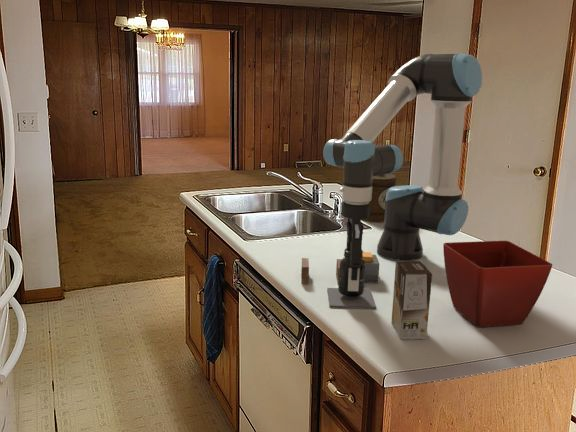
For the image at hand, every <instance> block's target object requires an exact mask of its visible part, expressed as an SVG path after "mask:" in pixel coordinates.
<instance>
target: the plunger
mask: <svg viewBox="0 0 576 432" xmlns="http://www.w3.org/2000/svg"><path fill="white" fill-rule="evenodd" d="M372 255H373V254H372V252H371V251H363V258H362V259H363V260H364V261H365V262H372V261H373V256H372Z"/></svg>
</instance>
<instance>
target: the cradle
mask: <svg viewBox="0 0 576 432" xmlns="http://www.w3.org/2000/svg"><path fill="white" fill-rule="evenodd" d="M309 259H310V258H309V257H302V258H301V270H300V271H301V274H300V275H301V276H300V277H301V280H300V281H301V283H300V284H302V285H309V277H310V276H309V275H310V260H309ZM342 259H343V258H336V267H335V268H336V270H335V277H336V282H337V285H339V269H340V261H341V260H342Z"/></svg>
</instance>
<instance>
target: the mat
mask: <svg viewBox="0 0 576 432" xmlns="http://www.w3.org/2000/svg"><path fill="white" fill-rule="evenodd" d="M326 291H327V298H328V305H329V306H328V307H329V308H333V309H335V308H338V309H360V310H361V309H365V310H366V309H369V310H371V309H372V310H377V305H376V302H375V299H374V296H373V292H372V290H371V289H370V288H364V292H363V294H362V295H360V296H357V297H349V296H344V295H342V294H340V293H339V291H338V287H327V290H326Z"/></svg>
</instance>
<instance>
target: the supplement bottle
mask: <svg viewBox="0 0 576 432" xmlns="http://www.w3.org/2000/svg"><path fill="white" fill-rule="evenodd" d="M343 252H344V253H343V257H342V258H341V259H342V260H341V261H340V269H339V285H338V284H337V285H338V286H337V288H338V291H339V293H340V294H342V295H344V296H349V297H357V296H360V295H362V294H363V292H364V289H365V283H364V281H365V268H366V264H365V261H364V260H363V259H362V258H363V252H364V251H363V249H362V250H361V268H360V271H359V288H358V291H348V274H349V268H347V266H349V265H350V248H346V247H345V248H344V251H343Z"/></svg>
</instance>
